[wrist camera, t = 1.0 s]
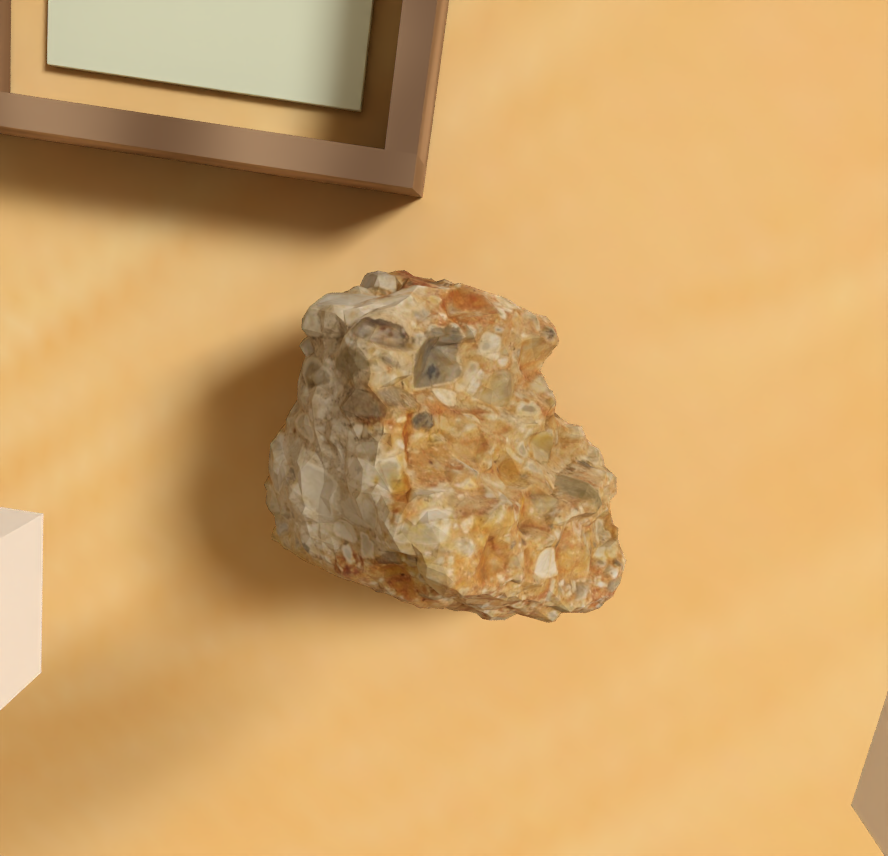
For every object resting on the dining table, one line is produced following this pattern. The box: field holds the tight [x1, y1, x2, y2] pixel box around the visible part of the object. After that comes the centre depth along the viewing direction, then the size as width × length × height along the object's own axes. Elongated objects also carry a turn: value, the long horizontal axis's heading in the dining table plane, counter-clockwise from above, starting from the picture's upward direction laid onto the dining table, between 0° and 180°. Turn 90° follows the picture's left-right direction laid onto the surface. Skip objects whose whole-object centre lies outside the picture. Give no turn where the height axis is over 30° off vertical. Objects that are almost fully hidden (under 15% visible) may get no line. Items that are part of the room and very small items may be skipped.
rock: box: [264, 270, 626, 623], centre depth 23 cm, size 12×10×10 cm
